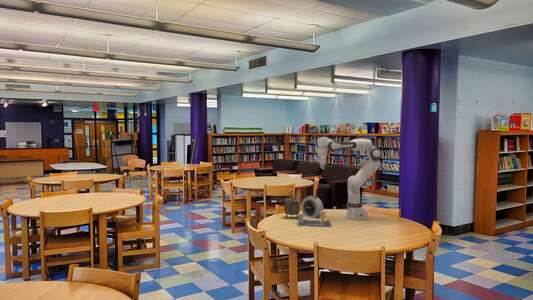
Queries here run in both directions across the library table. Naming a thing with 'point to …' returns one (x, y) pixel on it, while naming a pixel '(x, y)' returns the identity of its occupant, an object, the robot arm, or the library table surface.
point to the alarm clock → (311, 206)
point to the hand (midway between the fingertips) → (322, 168)
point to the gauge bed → (309, 223)
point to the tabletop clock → (292, 205)
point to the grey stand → (322, 218)
